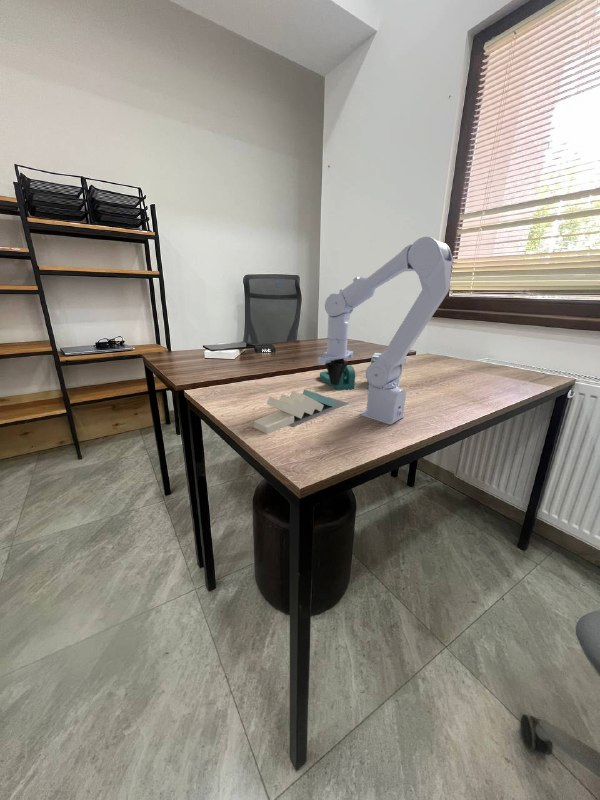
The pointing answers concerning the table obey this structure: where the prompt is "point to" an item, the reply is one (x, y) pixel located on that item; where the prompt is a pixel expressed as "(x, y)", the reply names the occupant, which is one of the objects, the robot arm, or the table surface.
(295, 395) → the tile
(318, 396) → the tile
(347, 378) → the bracket
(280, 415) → the tile
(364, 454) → the table surface
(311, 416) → the mat
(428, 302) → the robot arm
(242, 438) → the table surface
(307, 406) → the tile
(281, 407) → the tile
